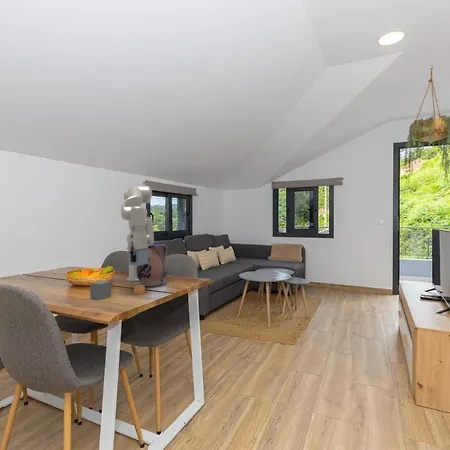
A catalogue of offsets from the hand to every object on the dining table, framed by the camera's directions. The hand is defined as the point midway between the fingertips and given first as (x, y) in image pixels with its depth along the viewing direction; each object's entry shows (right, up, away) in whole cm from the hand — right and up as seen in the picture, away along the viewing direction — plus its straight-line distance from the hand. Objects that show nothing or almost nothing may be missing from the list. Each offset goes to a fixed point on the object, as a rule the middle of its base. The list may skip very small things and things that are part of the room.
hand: (138, 260), depth 170 cm
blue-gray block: (0, -2, 0) cm, 2 cm away
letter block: (0, -18, +1) cm, 18 cm away
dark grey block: (-17, -18, -8) cm, 26 cm away
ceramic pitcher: (+4, -17, +22) cm, 28 cm away
